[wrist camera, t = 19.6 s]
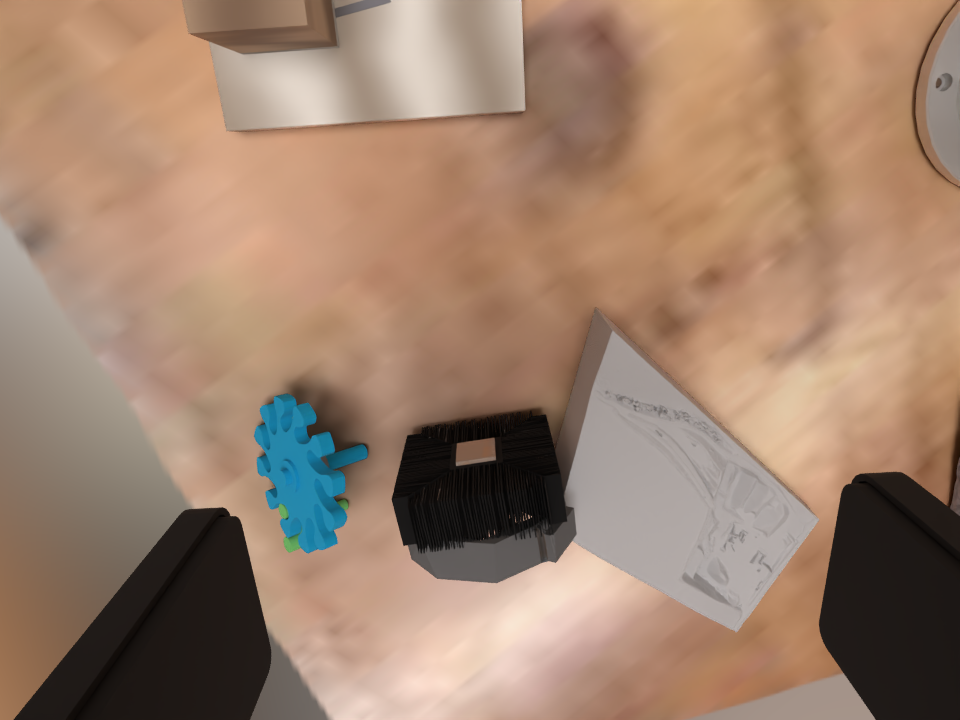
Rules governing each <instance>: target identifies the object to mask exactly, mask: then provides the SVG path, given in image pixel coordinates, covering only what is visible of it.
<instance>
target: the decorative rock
mask: <svg viewBox="0 0 960 720" xmlns="http://www.w3.org/2000/svg"><path fill="white" fill-rule="evenodd" d="M950 509H951V510H953V511H954V512H955V513H957V514H958V515H959V516H960V458H959V461H958V465H957V480H956V482H955V487H954V494H953V500H952V504H951V506H950Z"/></svg>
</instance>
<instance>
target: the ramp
mask: <svg viewBox="0 0 960 720" xmlns="http://www.w3.org/2000/svg"><path fill="white" fill-rule="evenodd" d="M595 308H596V309H595V310H594V315H593V317H592V318H593V319H592V321H591V326H590V327H589V328H590V329H589V332H588V336H587V339H586V344H585V346H584V351H583V352H582V353H583V354H582V357H581V360H580V365H579V367H578V371H577V375H576V378H575V381H574V382H575V383H574V385H573V388H572V393H571V396H570V399H569V403H568V407H567V410H566V413H565V416H564V420H563V424H562V427H561V431H560V435H559V439H558V442H557V445H556V449H555V453H556V457H557V461H558V465H559V469H560V473H561V479H562V486H563V493H564V497H565V502H566V506H569V507H573V508H574V513H575V522H576V532H577V535H576V536H575V537H574V539H573V540H572V541H574V542H575V543H576V544H578V545H579V546H581V547H582V548H584V549H586V550H587V551H589V552H591V553H593V554H595V555H596V556H597V557H599V558H601V559H603V560H605V561H606V562H608V563H610V564H612V565H613V566H615V567H617V568H619V569H620V570H622V571H625V572H626V573H628V574H629V575H631V576H633V577H635V578H637V579H638V580H640V581H642V582H644V583H646V584H648V585H650V586H652V587H653V588H655V589H657V590H659V591H661V592H663V593H664V594H666V595H667V596H669V597H671V598H673V599H675V600H677V601H679V602H680V603H682V604H684V605H685V606H687V607H689V608H691V609H692V610H694V611H696V612H698V613H699V614H701V615H704V616H705V617H707V618H710V619H711V620H713V621H716V622H717V623H720V624H722V625H724V626H726V627H728V628H729V629H731V630H734V631H735V632H737V631H738V630H739V629H740V627H741V626H742V624H743V623H744V622H745V620H746V619H747V618H748V617H749V616H750V614H751V613H752V611H753V610H754V609H755V607H756V606H757V605H758V603H759V602H760V600H761V599H762V597H763V596H764V595H765V593H766V591H768V589H769V587H770V586H771V585H772V584H773V582H774V580H776V578H777V577H778V575H779V574H780V573H781V571H782V570H783V568H784V567H785V565H787V563H788V562H789V560H790V558H791V557H792V556H793V555H794V553H795V552H796V551H797V549H798V547H799V546H800V545H801V544H802V542H803V541H804V540H805V538H807V536H808V534H809V533H810V532H811V530H812V529H813V528H814V526H815V525H816V524H817V522H818V521H819V519H818V518H817V516H816V515H815V514H814V513H813V512H812V511H811V510H810V508H809V507H808V506H807V505H806V504H805V503H804V502H803V501H802V500H801V499H800V498H798V497H797V496H796V495H795V494H794V493H793V492H792V491H791V490H790V489H789V488H788V487H787V486H786V485H785V484H784V483H783V482H781V481H780V480H779V479H778V478H777V477H776V476H775V475H774V474H773V473H772V472H771V471H770V470H769V469H768V468H767V467H766V466H765V465H763V463H761V462H760V461H759V460H758V459H757V458H756V457H755V456H754V455H753V454H752V453H751V452H750V451H749V450H748V449H747V448H746V447H744V446H743V445H742V444H741V443H740V442H739V441H738V440H737V439H736V438H735V437H734V436H733V435H732V434H731V433H730V432H729V431H727V429H725V428H724V427H723V426H722V425H721V424H720V423H719V422H718V421H717V420H716V419H715V418H714V417H712V416H711V414H710V413H708V412H707V411H706V410H705V409H704V408H703V407H702V406H701V405H700V404H699V403H698V402H696V400H694V399H693V398H692V397H691V396H690V395H689V394H688V393H687V392H686V391H685V390H684V389H683V388H682V387H681V386H680V385H679V384H678V383H677V382H675V381H674V380H673V379H672V378H671V377H670V376H669V375H668V374H667V373H666V372H665V371H664V370H662V368H661V367H659V366H658V365H657V364H656V363H655V362H654V361H653V360H652V359H651V358H650V357H649V356H648V355H647V354H646V353H644V352H643V351H642V350H641V349H640V348H639V347H638V346H637V345H636V344H635V343H634V342H633V341H632V340H631V339H630V338H629V337H628V336H627V335H625V334H624V332H622V331H621V330H620V329H619V328H618V327H617V326H616V325H615V324H614V323H613V322H612V321H610V319H608V318H607V317H606V316H605V315H604V314H603V313H602V312H601V311H600V310H599V309H598V308H597V307H595Z"/></svg>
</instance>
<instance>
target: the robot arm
mask: <svg viewBox="0 0 960 720" xmlns="http://www.w3.org/2000/svg"><path fill="white" fill-rule="evenodd" d="M915 115H916V121H917V128H918V134H919V137H920V140H921V143H922V145H923V148H924V150H925V153H926V155H927V156H928V158H929V159H930V161H931V162H932V164H933V165H934V167H935V168H936V169H937V170H938V171H939V172H940V173H941V174H942V175H943V176H944V177H946V178H947V179H948V180H949V181H950V182H952V183H954V184H956V185H957V186H959V187H960V0H959V1H958V2H957V4H956V5H955V6H954V7H953V9H952V10H951V11H950V13H949V14H948V15H947V16H946V18H945V19H944V21H943V22H942V24H941V26H940V28H939V29H938V31H937V33H936V35H935V36H934V38H933V40H932V42H931V44H930V46H929V49H928V52H927V54H926V57H925V59H924V62H923V64H922V67H921V72H920V76H919V81H918V86H917V90H916V112H915ZM819 628H820V633H821V637H822V640H823V642H824V644H825V646H826V648H827V650H828V651H829V652H830V654H831V655H832V657H833V658H834V660H835V661H836V663H837V664H838V665H839V667H840V668H841V670H842V671H843V673H844V674H845V676H846V677H847V678H848V680H849V681H850V683H851V684H852V686H853V687H854V688H855V690H856V691H857V693H858V694H859V696H860V697H861V699H862V700H863V702H864V703H865V704H866V706H867V707H868V709H869V710H870V712H871V713H872V715H873V716H874V717H875V719H876V720H960V516H959V515H958V514H957V513H955V512H954V511H953V510H951V509H950V508H949V507H948V506H946V505H945V504H944V503H942V502H941V501H940V500H938V499H937V498H936V497H935V496H933V495H932V494H931V493H929V492H928V491H927V490H925V489H924V488H923V487H922V486H920V485H919V484H918V483H916V482H915V481H914V480H913V479H911V478H910V477H909V476H907V475H905V474H903V473H902V472H884V473H865V474H859V475H857V476H855V478H854V479H853V480H852V483H851V484H848V485H845V487H844V488H843V490H842V493H841V498H840V504H839V510H838V516H837V521H836V527H835V533H834V539H833V544H832V550H831V556H830V562H829V567H828V573H827V579H826V585H825V590H824V596H823V602H822V608H821V613H820V619H819ZM270 664H271V647H270V642H269V638H268V634H267V629H266V625H265V621H264V617H263V613H262V608H261V604H260V600H259V596H258V591H257V587H256V583H255V579H254V574H253V570H252V566H251V562H250V557H249V553H248V549H247V545H246V541H245V536H244V532H243V528H242V524H241V521H240V519H239V518H238V517H236V516H230V513H229V512H228V511H227V509H225V508H223V507H222V508H203V509H188V510H185V511H183V512H182V513H181V514H180V515H179V516H178V518H177V519H176V520H175V521H174V523H173V524H172V525H171V526H170V528H169V529H168V530H167V531H166V532H165V534H164V535H163V536H162V538H161V539H160V540H159V541H158V542H157V544H156V545H155V546H154V547H153V549H152V550H151V551H150V552H149V554H148V555H147V556H146V557H145V558H144V560H143V561H142V562H141V563H140V564H139V566H138V567H137V568H136V569H135V571H134V572H133V573H132V574H131V576H130V577H129V578H128V579H127V581H126V582H125V583H124V584H123V585H122V587H121V588H120V589H119V590H118V592H117V593H116V594H115V595H114V597H113V598H112V599H111V600H110V602H109V603H108V604H107V605H106V606H105V608H104V609H103V610H102V611H101V613H100V614H99V615H98V616H97V617H96V619H95V620H94V621H93V623H92V624H91V625H90V626H89V627H88V629H87V630H86V631H85V632H84V634H83V635H82V636H81V637H80V638H79V640H78V641H77V642H76V643H75V645H74V646H73V647H72V648H71V650H70V651H69V652H68V653H67V655H66V656H65V657H64V658H63V660H62V661H61V662H60V663H59V664H58V666H57V667H56V668H55V669H54V670H53V672H52V673H51V674H50V675H49V677H48V678H47V679H46V680H45V682H44V683H43V684H42V685H41V687H40V688H39V689H38V690H37V691H36V693H35V694H34V695H33V696H32V698H31V699H30V700H29V701H28V703H27V704H26V705H25V707H23V709H22V710H21V711H20V713H19V714H18V715H17V716H16V717H15V719H14V720H250V718H251V716H252V713H253V711H254V708H255V706H256V703H257V701H258V698H259V696H260V693H261V691H262V688H263V686H264V683H265V680H266V678H267V676H268V673H269V669H270Z"/></svg>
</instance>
